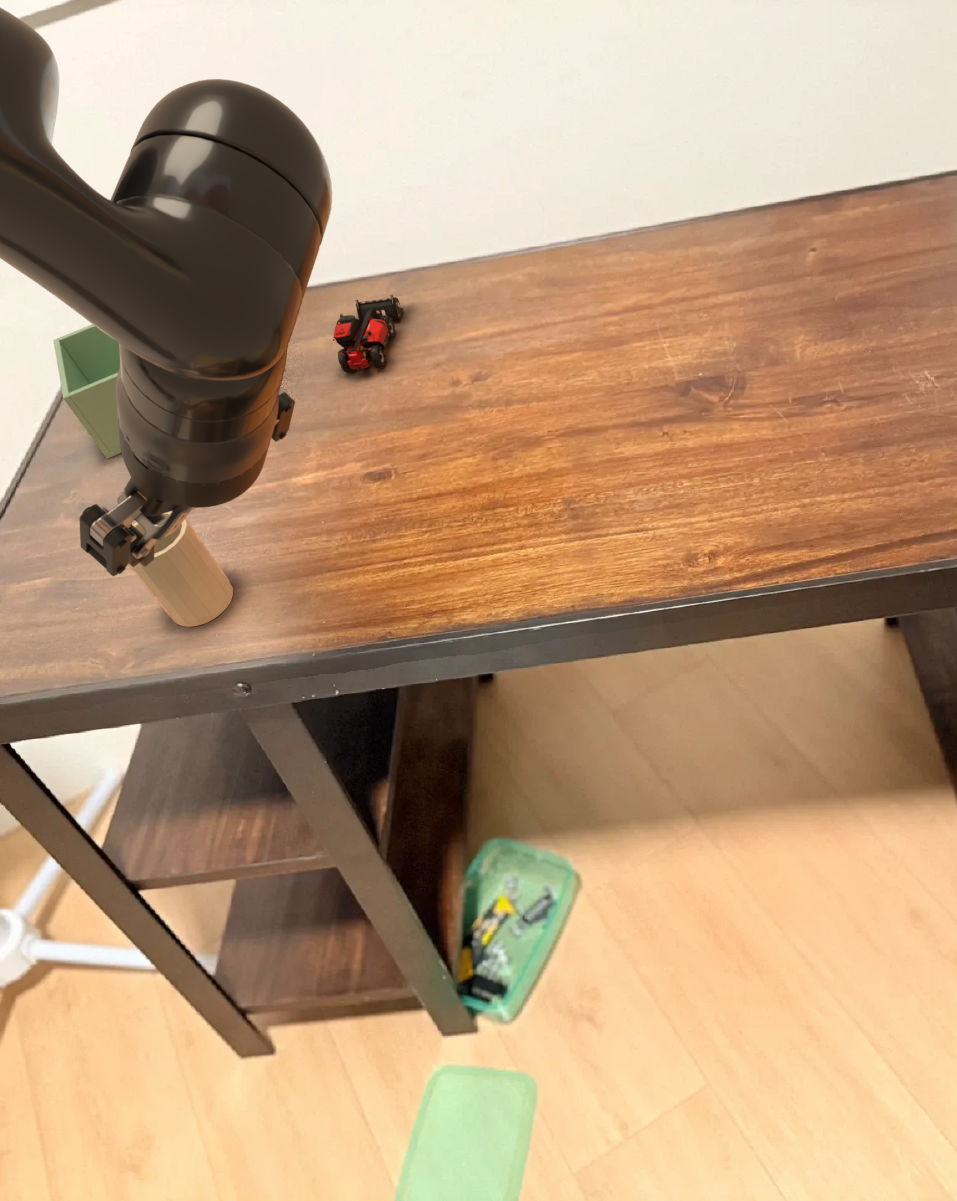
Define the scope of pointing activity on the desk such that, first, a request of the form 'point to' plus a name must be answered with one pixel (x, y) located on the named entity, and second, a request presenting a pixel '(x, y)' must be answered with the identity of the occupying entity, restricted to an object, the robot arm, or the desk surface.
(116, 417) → the bin
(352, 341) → the loader
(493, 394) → the desk surface
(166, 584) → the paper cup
